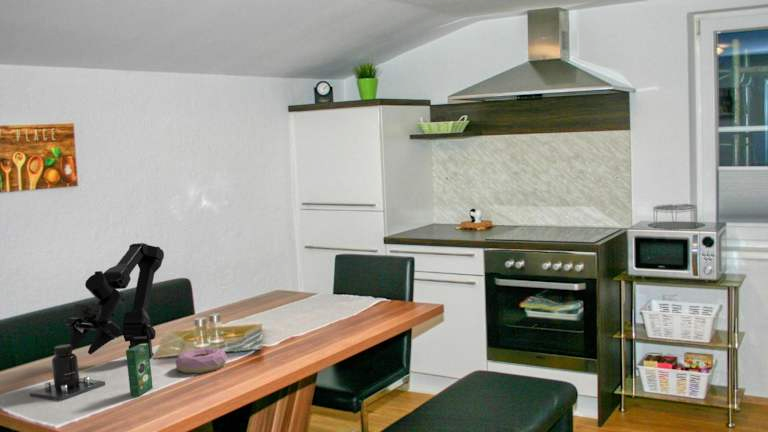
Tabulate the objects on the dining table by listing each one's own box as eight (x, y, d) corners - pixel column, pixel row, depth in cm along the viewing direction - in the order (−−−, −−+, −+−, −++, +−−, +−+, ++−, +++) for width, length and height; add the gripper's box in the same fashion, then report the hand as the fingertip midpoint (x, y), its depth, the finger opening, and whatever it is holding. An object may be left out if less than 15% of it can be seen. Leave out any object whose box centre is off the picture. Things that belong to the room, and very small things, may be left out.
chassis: (74, 380, 240) (73, 371, 240) (105, 384, 233) (104, 374, 233) (29, 396, 228) (28, 385, 228) (61, 401, 220) (59, 390, 220)
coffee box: (144, 387, 227) (139, 342, 226) (153, 387, 226) (148, 342, 225) (129, 397, 219) (124, 350, 218) (139, 396, 218) (134, 350, 217)
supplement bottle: (71, 390, 227) (66, 349, 225) (50, 390, 228) (44, 349, 227) (85, 382, 233) (80, 342, 232) (64, 383, 235) (59, 343, 234)
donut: (166, 371, 243) (164, 355, 242) (206, 359, 254) (205, 343, 254) (197, 378, 233) (196, 361, 232) (238, 364, 244) (236, 348, 244)
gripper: (67, 291, 242) (39, 336, 234) (107, 293, 232) (80, 341, 224) (92, 310, 249) (66, 355, 241) (132, 313, 239) (107, 360, 231)
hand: (79, 352), depth 234 cm, fingers open, 9 cm apart
